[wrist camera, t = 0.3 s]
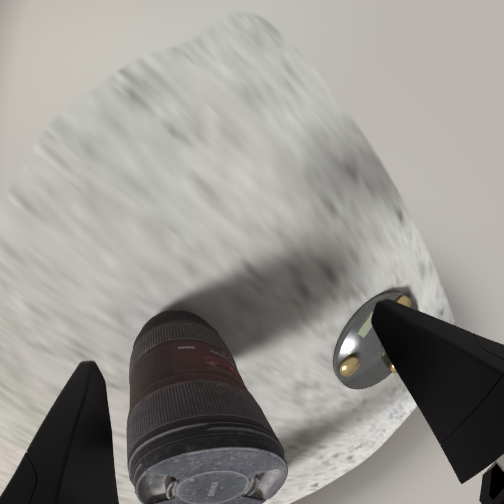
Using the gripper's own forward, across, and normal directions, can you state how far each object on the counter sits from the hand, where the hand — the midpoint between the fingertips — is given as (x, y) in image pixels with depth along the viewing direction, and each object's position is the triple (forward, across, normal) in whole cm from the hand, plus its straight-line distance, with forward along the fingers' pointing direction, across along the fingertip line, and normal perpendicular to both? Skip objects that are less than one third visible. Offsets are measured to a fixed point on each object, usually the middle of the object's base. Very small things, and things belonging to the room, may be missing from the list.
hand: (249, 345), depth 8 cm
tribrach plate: (+12, -20, +19) cm, 30 cm away
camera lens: (+13, +3, +12) cm, 18 cm away
